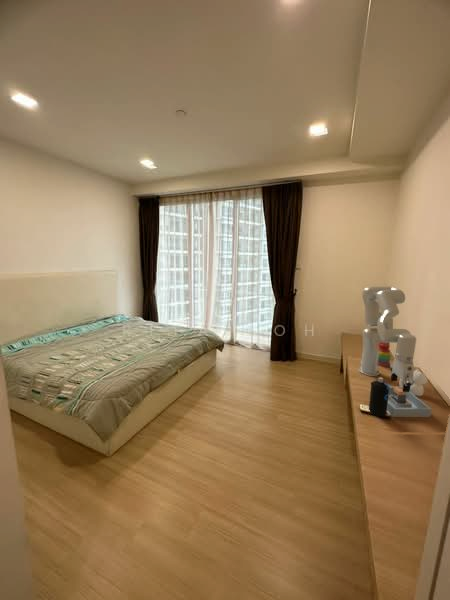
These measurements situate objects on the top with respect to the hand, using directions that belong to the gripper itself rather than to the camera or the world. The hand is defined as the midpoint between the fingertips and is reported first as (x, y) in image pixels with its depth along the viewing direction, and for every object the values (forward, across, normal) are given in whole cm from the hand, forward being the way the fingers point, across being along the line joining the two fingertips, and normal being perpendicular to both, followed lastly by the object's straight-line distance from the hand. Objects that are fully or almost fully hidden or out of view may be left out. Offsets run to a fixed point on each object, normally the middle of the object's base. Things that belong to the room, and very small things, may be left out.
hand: (399, 386), depth 127 cm
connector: (+10, -1, 0) cm, 11 cm away
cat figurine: (+12, +10, -15) cm, 22 cm away
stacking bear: (+14, +48, -20) cm, 53 cm away
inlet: (+10, -1, 0) cm, 11 cm away
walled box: (+11, -1, 0) cm, 11 cm away
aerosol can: (+11, -7, +15) cm, 20 cm away
